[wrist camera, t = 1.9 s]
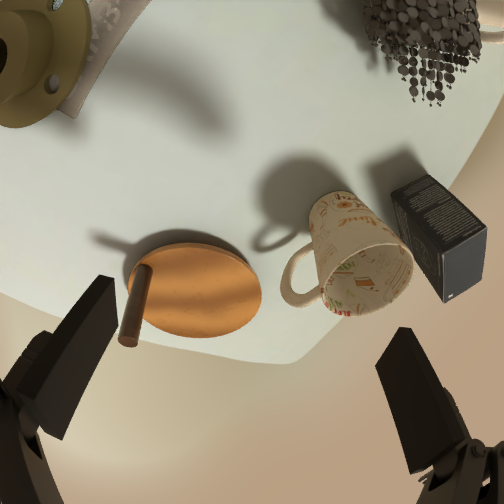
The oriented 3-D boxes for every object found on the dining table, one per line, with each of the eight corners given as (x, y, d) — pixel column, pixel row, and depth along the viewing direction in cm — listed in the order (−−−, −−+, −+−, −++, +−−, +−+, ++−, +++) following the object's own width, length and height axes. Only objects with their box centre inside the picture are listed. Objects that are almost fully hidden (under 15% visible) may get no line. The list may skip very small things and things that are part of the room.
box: (436, 223, 31) (482, 280, 23) (400, 242, 32) (442, 305, 24) (429, 172, 26) (489, 227, 18) (389, 192, 28) (442, 255, 19)
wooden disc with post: (105, 260, 29) (78, 333, 21) (243, 227, 27) (251, 307, 20) (162, 339, 39) (156, 401, 31) (271, 322, 37) (280, 389, 30)
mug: (383, 215, 30) (426, 278, 22) (299, 278, 35) (317, 348, 27) (344, 164, 26) (392, 223, 18) (250, 241, 31) (259, 317, 23)
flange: (101, 24, 12) (7, -47, 4) (6, 174, 17) (-65, 92, 9) (125, 27, 15) (36, -42, 7) (33, 152, 21) (-37, 79, 13)
